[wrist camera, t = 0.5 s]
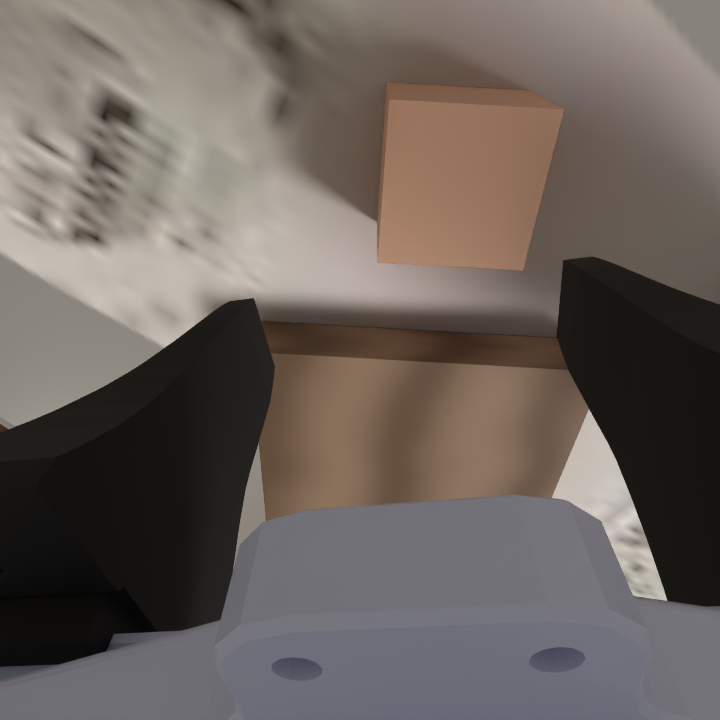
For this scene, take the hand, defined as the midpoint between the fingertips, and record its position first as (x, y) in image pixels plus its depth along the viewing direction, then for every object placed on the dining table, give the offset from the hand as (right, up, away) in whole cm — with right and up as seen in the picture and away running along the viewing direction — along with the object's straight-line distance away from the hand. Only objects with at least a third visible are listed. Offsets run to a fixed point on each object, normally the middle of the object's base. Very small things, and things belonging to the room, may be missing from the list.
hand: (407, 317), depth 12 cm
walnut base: (+1, -6, +16) cm, 17 cm away
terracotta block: (+2, +7, +7) cm, 10 cm away
